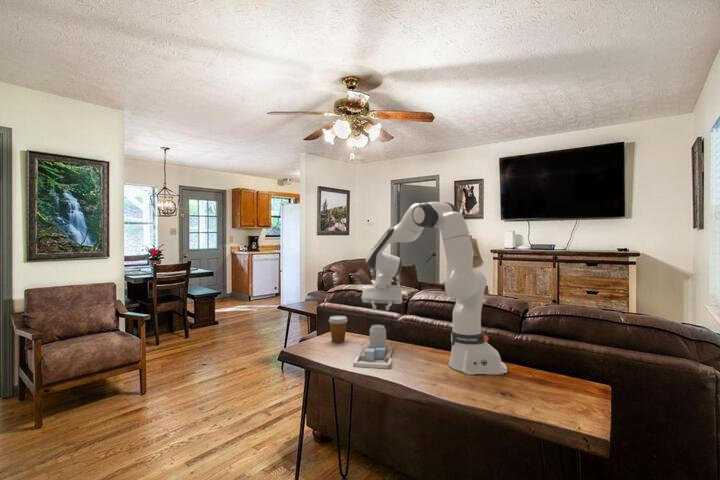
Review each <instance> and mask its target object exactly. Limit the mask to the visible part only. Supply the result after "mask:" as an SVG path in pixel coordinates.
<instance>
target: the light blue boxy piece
mask: <svg viewBox="0 0 720 480" xmlns="http://www.w3.org/2000/svg"><path fill="white" fill-rule="evenodd" d="M385 355H386V351H385V347H376V349H375V359H377V360H378V359H380V360H385Z"/></svg>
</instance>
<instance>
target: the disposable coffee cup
mask: <svg viewBox="0 0 720 480" xmlns="http://www.w3.org/2000/svg"><path fill="white" fill-rule="evenodd" d="M328 322H329V327H330V328H329V329H330V336H331V343H335V344H341V343H344V342H345V341H346V332H347V331H346V330H347V323H348V317H347V316H345V315H331V316H330V317H329V319H328Z"/></svg>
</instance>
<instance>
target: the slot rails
mask: <svg viewBox="0 0 720 480" xmlns="http://www.w3.org/2000/svg"><path fill="white" fill-rule="evenodd" d="M366 348H370V344H365V345H364V347H363V349H362V350H361V352H360V353H359V355H358V356H359V361H365V349H366ZM393 352H394V346H393V345H389V346H388V347H387V349H386V352H385V359H384V362H385V363H386V362H387V363H388V361H389V358H391V357H392V355H393Z"/></svg>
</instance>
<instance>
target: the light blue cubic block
mask: <svg viewBox="0 0 720 480" xmlns="http://www.w3.org/2000/svg"><path fill="white" fill-rule="evenodd" d="M375 359H376V358H375V349H371V348H366V349H365V359H364V361H370V362H373V361H375Z"/></svg>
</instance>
